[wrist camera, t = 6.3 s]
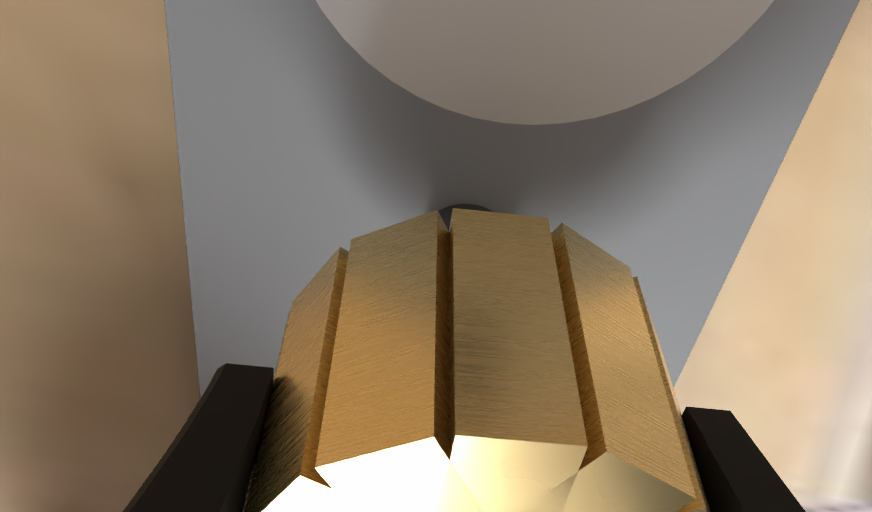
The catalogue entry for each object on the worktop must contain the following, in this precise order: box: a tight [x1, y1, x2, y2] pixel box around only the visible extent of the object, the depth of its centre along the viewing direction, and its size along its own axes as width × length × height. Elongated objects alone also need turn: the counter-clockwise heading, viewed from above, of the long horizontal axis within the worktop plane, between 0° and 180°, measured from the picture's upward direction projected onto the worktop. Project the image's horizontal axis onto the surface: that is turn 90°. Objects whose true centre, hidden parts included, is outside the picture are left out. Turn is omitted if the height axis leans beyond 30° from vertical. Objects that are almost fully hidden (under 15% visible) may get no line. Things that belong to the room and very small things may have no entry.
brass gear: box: [242, 208, 711, 512], centre depth 10 cm, size 5×5×4 cm
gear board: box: [164, 0, 860, 399], centre depth 13 cm, size 20×10×4 cm, turn 172°
